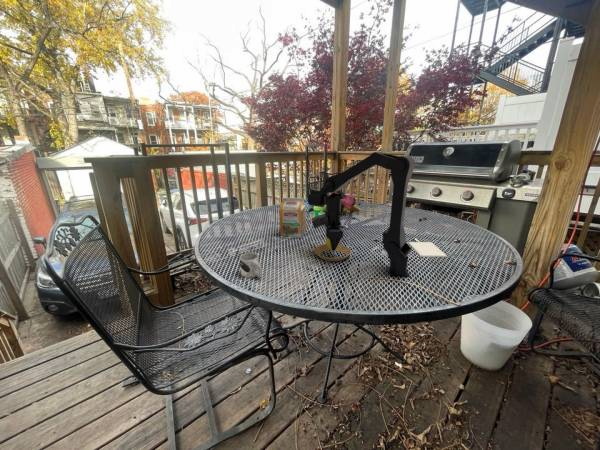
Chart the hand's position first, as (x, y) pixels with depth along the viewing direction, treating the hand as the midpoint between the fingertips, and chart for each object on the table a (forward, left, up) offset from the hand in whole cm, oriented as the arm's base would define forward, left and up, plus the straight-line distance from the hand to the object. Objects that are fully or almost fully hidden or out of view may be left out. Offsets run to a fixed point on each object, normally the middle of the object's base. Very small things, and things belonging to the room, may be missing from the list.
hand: (332, 246), depth 103 cm
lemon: (0, 0, -2) cm, 2 cm away
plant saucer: (0, 0, -5) cm, 5 cm away
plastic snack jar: (+24, +18, -4) cm, 30 cm away
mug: (-17, +29, -4) cm, 34 cm away
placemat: (+6, -40, -4) cm, 41 cm away
